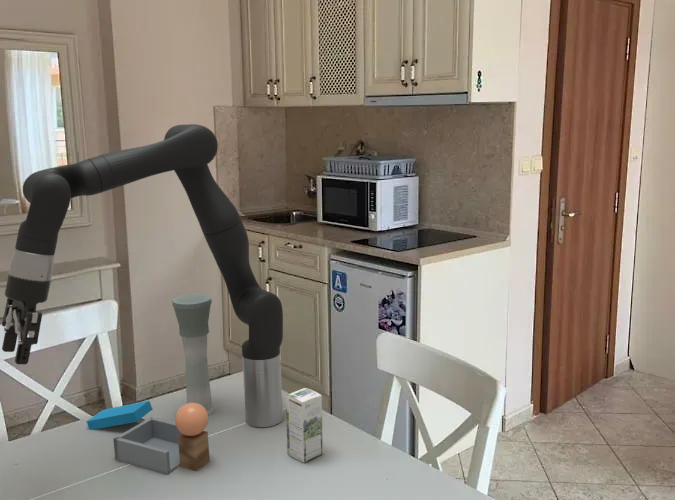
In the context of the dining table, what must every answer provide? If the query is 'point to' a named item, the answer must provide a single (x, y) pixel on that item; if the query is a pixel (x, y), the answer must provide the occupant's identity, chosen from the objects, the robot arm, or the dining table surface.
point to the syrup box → (304, 424)
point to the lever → (120, 415)
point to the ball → (191, 419)
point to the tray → (150, 445)
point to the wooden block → (194, 450)
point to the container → (195, 346)
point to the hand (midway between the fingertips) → (14, 357)
